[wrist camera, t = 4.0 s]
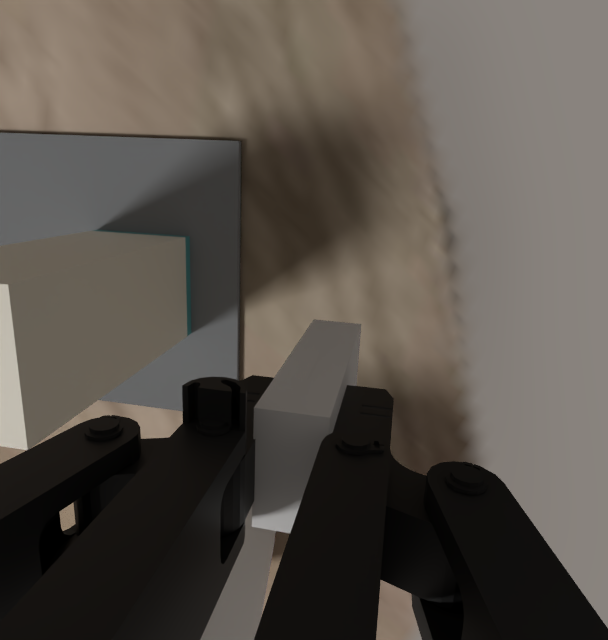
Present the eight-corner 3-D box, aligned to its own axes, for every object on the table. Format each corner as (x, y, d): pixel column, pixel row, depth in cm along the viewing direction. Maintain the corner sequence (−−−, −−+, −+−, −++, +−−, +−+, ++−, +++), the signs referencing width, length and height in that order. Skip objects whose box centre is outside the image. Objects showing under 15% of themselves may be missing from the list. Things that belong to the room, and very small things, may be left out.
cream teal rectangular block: (103, 324, 27) (-114, 428, 16) (96, 229, 26) (-146, 270, 15) (191, 333, 26) (27, 450, 15) (189, 236, 25) (8, 284, 14)
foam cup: (141, 557, 32) (-30, 799, 19) (154, 425, 29) (-36, 610, 16) (289, 603, 30) (206, 894, 18) (317, 469, 27) (243, 706, 15)
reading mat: (-105, 370, 31) (-110, 372, 31) (-151, 127, 28) (-157, 127, 27) (238, 415, 28) (236, 418, 27) (241, 141, 24) (239, 141, 23)
